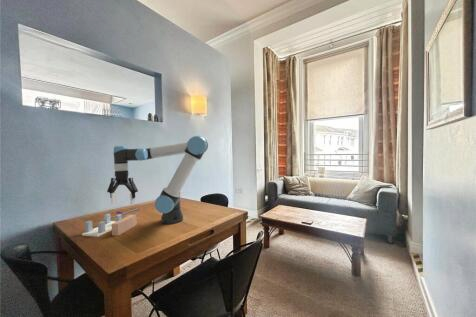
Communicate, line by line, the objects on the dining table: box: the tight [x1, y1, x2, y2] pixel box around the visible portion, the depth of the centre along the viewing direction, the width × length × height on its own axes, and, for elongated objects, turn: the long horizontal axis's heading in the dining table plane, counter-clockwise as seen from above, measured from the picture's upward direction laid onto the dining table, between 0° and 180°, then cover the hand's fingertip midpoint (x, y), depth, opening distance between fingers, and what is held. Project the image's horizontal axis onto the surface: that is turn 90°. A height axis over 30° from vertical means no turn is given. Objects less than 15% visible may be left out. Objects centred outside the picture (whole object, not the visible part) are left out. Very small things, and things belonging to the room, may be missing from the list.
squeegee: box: [110, 207, 140, 219], centre depth 163 cm, size 29×2×10 cm
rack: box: [81, 213, 123, 238], centre depth 130 cm, size 11×22×7 cm, turn 170°
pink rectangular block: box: [111, 214, 138, 237], centre depth 129 cm, size 4×18×7 cm, turn 174°
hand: (123, 203), depth 129 cm, fingers open, 13 cm apart
